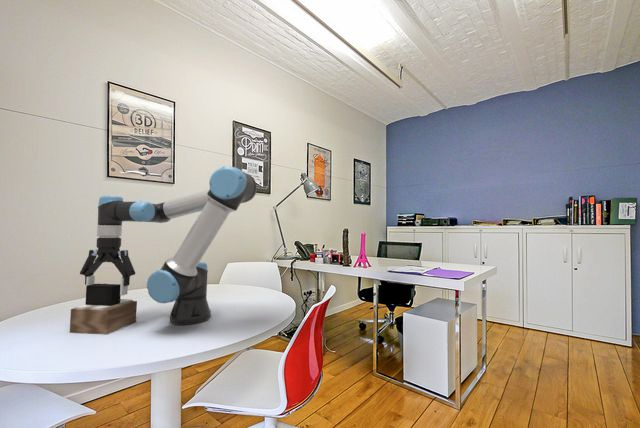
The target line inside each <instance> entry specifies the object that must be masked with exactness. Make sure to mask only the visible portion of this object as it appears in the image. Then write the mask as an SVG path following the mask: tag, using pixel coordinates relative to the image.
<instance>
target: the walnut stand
mask: <svg viewBox="0 0 640 428" xmlns="http://www.w3.org/2000/svg"><path fill="white" fill-rule="evenodd" d="M137 305H138V301H137V300H133V299H128V298H127V299H123V298H120V303H119V304H116V305H112V306H103V305H85V304H84V305H79V306H76V307H73V308H71V309H70V317H69V318H70V319H69V333H71V334H72V333H74V334H93V335H94V334H95V335H108V334H111V333H113V332H115V331H118V330H120V329H122V328H125V327H127V326H129V325H132V324H134V323H136V322H137V309H138V306H137Z"/></svg>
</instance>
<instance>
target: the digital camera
mask: <svg viewBox="0 0 640 428" xmlns="http://www.w3.org/2000/svg"><path fill="white" fill-rule="evenodd" d="M120 284H121V283H120ZM120 284H117V283H115V284H114V283H94V284H92V285H87V286H86V285H85V303H84V305H103V306H112V305H116V304H119V303H120V299H121V297H122V296H120Z"/></svg>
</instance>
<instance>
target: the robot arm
mask: <svg viewBox="0 0 640 428" xmlns="http://www.w3.org/2000/svg"><path fill="white" fill-rule="evenodd" d="M208 183H209V189H207V190H204V191H199V192H196V193H193V194H188V195H185V196H181V197H178V198H175V199H171V200H167V201H164V202H160V203H151V202H150V201H143V200H140V201H139V200H138V201H135V200H134V201H124V198H123V197H122V196H118V195H101V196H99V200H98V205H97V225H96V226H97V228H96V229H97V230H96V236H97V238H96V245H95V246H96V248H97V249H90V250H88V255H87V258H86V259H85V261H84V263H83V265H82V267H81V270H80V271H79V274H80V275H83V276H84V285H85V287H86V286H87V285H92V284H95V279H96V278H95V277H96V276H95V272H96V271H97V270H98V269H99V268H100V267H101V265H103V263H111V264H113V265H114V266H115V267H116V268H117V270H118V272H119V273H120V275H121V277H120V296H121V297H122V296H125V295H128V289H129V288H128V287H129V286H130V284H131V283H130V281H131V280H130V279H131V277H132V276H135V275H136V271H135V269H134V265H133V264H132V261H131V258H130V257H129V250H128V249H122V250H121V246H122V237H121V236H122V234H123V233H122V231H123V229H122V228H123V222H138V223H140V222H141V223H157V224H162V223H163V224H164V223H167V222H170V221H171V220H172V219H177V218H179V217H180V218H181V217H184V216H187V215H191V214H195V213H199V212H200V213H199V215H198V216H197V218H196V220H195V221H194V223H193V224H192V226H191V228H190V230H189V231H188V233H187V234H186V236H185V238H184V239H183V240H182V242H181V244H180V246H179V247H178V249H177V250H176V252H175V254H174V256H172V257H168V258H166V259H165V261H164V263H163V265H162V266H161V268H160V269H157V270H155V271H154V272H152V273H151V274H150V276H148V279H147V281H146V289H147V293H148V295H149V297H150V298H151V299H152V300H153V301H155V302H156V303H158V304H167V303H169V304H170V303H173V302H174V303H173V307H172V308H171V312H170V314H169V323H170V324H173V325H181V326H182V325H183V326H185V325H195V324H200V323H203V322H206V321H208V320H210V319H211V309H210V307H209V302H208V300H207V299H208V298H207V294H208V293H207V292H208V273H209V271H208V264H207V263H206V262H201V260H202V258H203V257H204V256H205V254H206V253H207V250H208V249H209V247H210V245H211V244H212V242H213V240H214V239H215V237H216V236H217V234H218V233H219V232H220V231H219V230H220V229H221V228H222V226H223V224H224V223H225V221H227V218H228V216H229V215H230V213H232V212H237V210H238V208H239V207H240V205H241V204H244V203H247V202H250V201H252V200H253V199H254V197H256V195H257V191H258V185H257V182H256V179H254V177H253V176H252V175H250V174H248V173H246V172H244V171H242V169H240V168H237V167H235V166H230V165H229V166H227V165H225V166H221V167H219V168H217V169H215V171H213V173H211V175H210V178H209V182H208ZM209 318H210V319H209Z"/></svg>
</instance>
